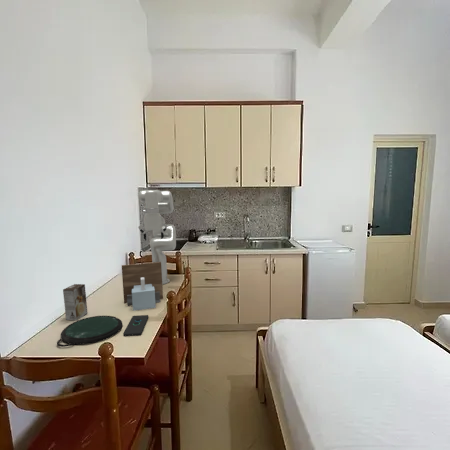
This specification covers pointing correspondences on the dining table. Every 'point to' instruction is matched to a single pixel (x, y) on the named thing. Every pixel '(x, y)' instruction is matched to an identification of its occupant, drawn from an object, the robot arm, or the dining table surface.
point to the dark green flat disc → (90, 330)
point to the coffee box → (75, 301)
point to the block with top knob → (143, 296)
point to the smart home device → (136, 325)
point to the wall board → (133, 278)
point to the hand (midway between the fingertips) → (153, 239)
